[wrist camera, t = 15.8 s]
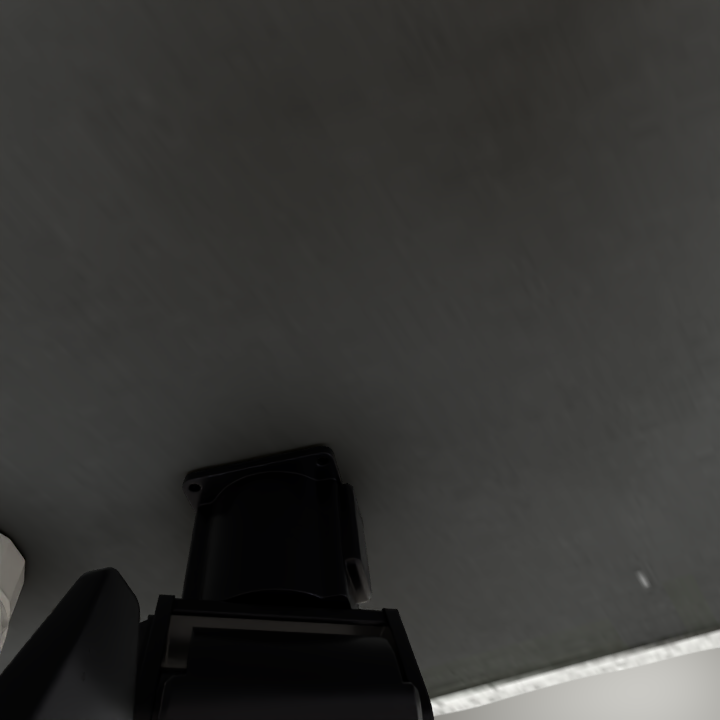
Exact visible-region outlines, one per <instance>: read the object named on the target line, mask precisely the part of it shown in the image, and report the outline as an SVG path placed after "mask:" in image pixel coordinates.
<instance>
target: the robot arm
mask: <svg viewBox="0 0 720 720" xmlns="http://www.w3.org/2000/svg"><path fill="white" fill-rule="evenodd" d="M320 457H325V459H318V458H320ZM193 484H198V485H193ZM183 491H184V493H185V495H186V497H187V498H188V500H189V502H190V504H191V506H192V508H193V510H194V512H195V514H196V516H195V522H194V528H193V534H192V540H191V546H190V552H189V557H188V563H187V569H186V575H185V581H184V587H183V593H182V598H181V599H179V598H175V595H159V598H158V602H157V606H156V611H155V615H149V616H148V620H146V621H143V622H141V623H139V622H140V608H139V603H138V600H137V598H136V596H135V594H134V593H133V592H132V590H131V589H130V587H129V586H128V585H127V583H126V582H125V580H124V579H123V577H122V576H121V575H120V573H119V572H118V571H117V570H116V569H114V568H112V567H107V568H102V569H97V570H93V571H89V572H86V573H84V574H83V575H82V576H81V577H80V578H79V579H78V580H77V581H76V582H75V584H74V585H73V586H72V587H71V589H70V590H69V591H68V592H67V594H66V595H65V596H64V597H63V598H62V600H61V601H60V602H59V603H58V605H57V606H56V607H55V608H54V610H53V611H52V612H51V613H50V614H49V616H48V617H47V618H46V619H45V621H44V622H43V623H42V624H41V625H40V627H39V628H38V629H37V630H36V632H35V633H34V634H33V635H32V637H31V638H30V639H29V640H28V641H27V643H26V644H25V645H24V646H23V648H22V649H21V650H20V651H19V652H18V654H17V655H16V656H15V657H14V659H13V660H12V661H11V662H10V664H9V665H8V666H7V667H6V668H5V670H4V671H3V672H2V673H1V675H0V720H434V716H433V711H432V706H431V702H430V699H429V695H428V692H427V689H426V687H425V684H424V681H423V678H422V676H421V673H420V670H419V667H418V665H417V662H416V659H415V656H414V654H413V651H412V648H411V645H410V643H409V640H408V637H407V634H406V632H405V629H404V626H403V623H402V621H401V618H400V615H399V612H398V610H397V609H386V608H383V609H382V611H378V610H362V609H359V604H360V603H365V602H368V601H369V600H370V598H371V597H372V590H371V582H370V574H369V567H368V559H367V551H366V543H365V535H364V527H363V521H362V517H361V514H360V510H359V506H358V503H357V499H356V496H355V492H354V489H353V486H351V485H350V484H348V483H345V484H343V483H342V480H341V476H340V473H339V470H338V466H337V463H336V459H335V456H334V453H333V451H332V449H330V448H329V447H325V446H319V447H315V448H310V449H305V450H300V451H295V452H290V453H286V454H281V455H276V456H271V457H266V458H262V459H257V460H252V461H247V462H242V463H238V464H233V465H228V466H223V467H218V468H213V469H209V470H204V471H199V472H194V473H191V474H188V475H187V476H186V477H185V479H184V482H183Z"/></svg>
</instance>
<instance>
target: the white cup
mask: <svg viewBox="0 0 720 720" xmlns="http://www.w3.org/2000/svg"><path fill="white" fill-rule="evenodd" d="M24 574H25V559H24V558H23V556H22V555H21V554H20V552H19V551H18V549H17V548H16V547H15V545H14V544H13V542H12V541H11V540H10V539H9V538H8V537H6V536H4V535H3V534H1V533H0V653H1V650H2V647H3V644H4V641H5V638H6V635H7V631H8V626H9V620H10V618H11V615H12V613H13V610H14V607H15V605H16V602H17V600H18V597H19V594H20V592H21V589H22V586H23V583H24Z"/></svg>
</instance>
